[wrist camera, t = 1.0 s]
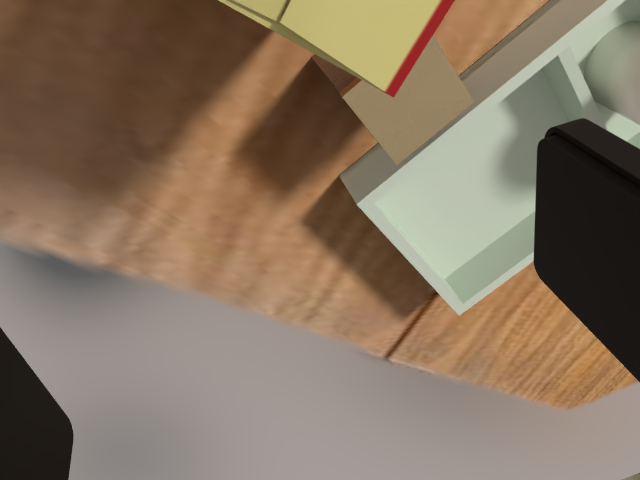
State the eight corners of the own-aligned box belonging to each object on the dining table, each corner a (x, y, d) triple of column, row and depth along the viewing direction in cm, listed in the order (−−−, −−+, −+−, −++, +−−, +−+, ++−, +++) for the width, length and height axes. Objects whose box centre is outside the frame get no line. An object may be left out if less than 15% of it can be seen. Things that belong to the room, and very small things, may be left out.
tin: (377, -4, 32) (426, 24, 27) (421, 63, 35) (474, 102, 30) (308, 57, 33) (342, 97, 28) (357, 118, 36) (396, 165, 31)
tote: (645, -79, 34) (697, -73, 31) (696, 88, 42) (741, 107, 39) (338, 175, 38) (356, 204, 35) (437, 284, 46) (458, 315, 43)
